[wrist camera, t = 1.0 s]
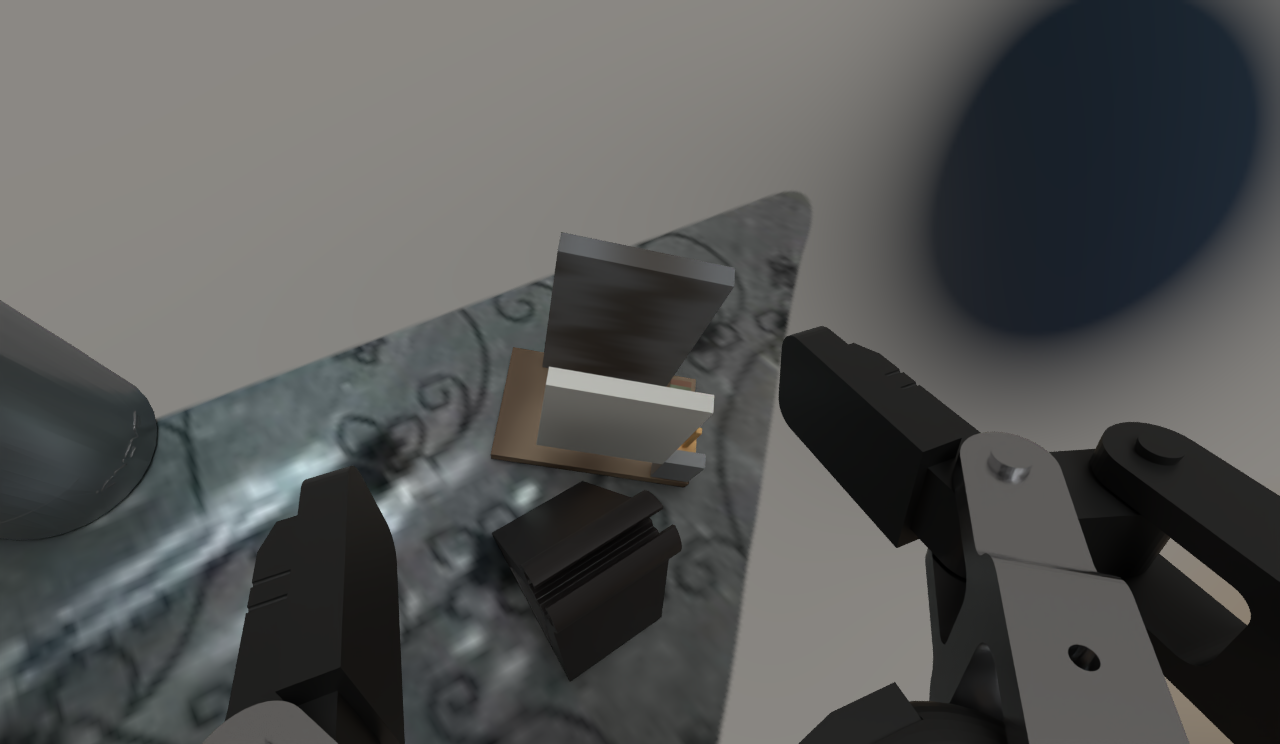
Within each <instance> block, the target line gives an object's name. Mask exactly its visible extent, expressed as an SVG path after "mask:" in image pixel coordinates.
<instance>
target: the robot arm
mask: <svg viewBox="0 0 1280 744" xmlns="http://www.w3.org/2000/svg"><path fill="white" fill-rule="evenodd" d="M779 405H780V409H781V412H782V415H783V417H784V419H785V421H786V423H787V424H788V426H789V427H790V428H791V430H792V431H793V432H794V433H795V434H796V435H797V436H798V437H799V438H800V440H801V441H802V442H803V443H804V444H805V445H806V447H807V448H809V450H810V451H811V452H812V453H813V454H814V456H815V457H816V458H817V459H818V460H819V461H820V462H821V463H822V465H823V466H824V467H825V468H826V469H827V470H828V471H829V472H830V474H831V475H832V476H833V477H834V478H835V479H836V480H837V482H838V483H839V484H840V485H841V486H842V487H843V488H844V489H845V491H846V492H847V493H848V494H849V495H850V496H851V497H852V498H853V500H854V501H855V502H856V503H857V504H858V505H859V506H860V507H861V509H862V510H863V511H864V512H865V513H866V514H867V515H868V516H869V518H870V519H871V520H872V521H873V522H874V523H875V524H876V526H877V527H878V528H879V529H880V530H881V531H882V532H883V533H884V535H886V537H887V538H888V539H889V540H890V541H891V542H892V544H894V546H895V547H896V548H898V547H901V546H903V545H905V544H908V543H910V542H912V541H915V540H917V539H920V540H921V541H922V542H923V543H924V544H925V545H926V546H927V547H928V549H927V553H926V557H925V563H926V575H927V585H928V586H927V587H928V597H929V610H930V621H931V631H932V644H933V670H932V677H931V683H930V698H929V701H911V702H909V701H908V700H907V698H906V697H905V696H904V694H903V693H902V692H901V690H900V689H899V687H898V686H897V684H896V683H895V682H894V683H892V684H890V685H888V686H886V687H884V688H882V689H880V690H877V691H875V692H873V693H871V694H869V695H867V696H865V697H863V698H861V699H858V700H856V701H854V702H852V703H850V704H848V705H846V706H844V707H842V708H840V709H837V710H835V711H833V712H831V713H830V714H829V715H828V716H827V717H826V718H825V719H824V720H823V721H822V722H821V723H820V724H818V725H817V727H816V728H814V729H813V730H812V731H811V732H810V733H809V734H808V735H807V736H806V737H805V738H804V739H803V740H802V741H801V742H800V743H799V744H1189V741H1188V738H1187V736H1186V733H1185V730H1184V728H1183V725H1182V723H1181V720H1180V717H1179V715H1178V712H1177V709H1176V707H1175V704H1174V701H1173V699H1172V697H1171V694H1170V691H1169V688H1168V687H1167V683H1166V681H1165V678H1164V676H1165V677H1166V678H1167V679H1168V680H1169V681H1171V683H1172V684H1173V685H1174V686H1176V688H1177V689H1178V690H1179V691H1180V692H1181V693H1183V695H1184V696H1185V697H1186V698H1188V699H1189V700H1190V701H1191V702H1192V703H1193V704H1194V705H1195V706H1196V707H1197V708H1198V709H1199V710H1200V711H1201V712H1202V713H1203V714H1204V715H1205V716H1206V717H1207V718H1208V719H1209V720H1210V721H1211V722H1212V723H1213V724H1214V725H1215V726H1216V727H1218V729H1219V730H1220V731H1221V732H1222V733H1223V734H1224V735H1225V736H1226V737H1227V738H1229V739H1230V740H1231V741H1232V742H1233V743H1234V744H1280V496H1279V495H1277V494H1276V493H1274V492H1272V491H1271V490H1269V489H1268V488H1266V487H1264V486H1263V485H1261V484H1260V483H1258V482H1257V481H1255V480H1254V479H1252V478H1250V477H1249V476H1247V475H1246V474H1244V473H1243V472H1241V471H1239V470H1238V469H1236V468H1235V467H1233V466H1232V465H1230V464H1228V463H1227V462H1225V461H1224V460H1222V459H1221V458H1219V457H1217V456H1216V455H1214V454H1213V453H1211V452H1209V451H1208V450H1206V449H1205V448H1203V447H1202V446H1200V445H1198V444H1197V443H1195V442H1194V441H1192V440H1190V439H1188V438H1187V437H1185V436H1183V435H1181V434H1179V433H1177V432H1175V431H1172V430H1169V429H1167V428H1163V427H1160V426H1156V425H1152V424H1147V423H1140V422H1125V423H1119V424H1115V425H1113V426H1111V427H1109V428H1108V429H1107V430H1105V432H1104V433H1103V435H1102V437H1101V439H1100V441H1099V443H1098V445H1097V447H1096V449H1087V450H1073V451H1058V452H1048V451H1047V450H1045V449H1044V448H1043V447H1041V446H1040V445H1038V444H1036V443H1034V442H1032V441H1030V440H1028V439H1026V438H1023V437H1020V436H1017V435H1013V434H1009V433H1003V432H985V433H980V432H979V431H978V430H976V429H975V428H974V427H973V426H971V425H970V424H969V423H967V422H966V421H965V420H964V419H962V418H961V417H959V415H957V414H956V413H955V412H953V411H952V410H951V409H949V408H948V407H947V406H946V405H944V404H943V403H942V402H941V401H939V400H938V399H937V398H936V397H934V396H933V395H932V394H930V393H929V392H928V391H926V390H925V389H924V388H923V387H921V386H920V385H919V386H917V385H916V382H915V381H914V380H913V379H911V378H910V377H909V376H908V375H906V374H905V373H904V372H903V373H900V371H899V368H897V367H896V366H895V365H893V364H892V363H891V362H890V361H888V360H887V359H886V358H884V357H883V356H882V355H881V354H879V353H877V352H874V351H872V350H869V349H867V348H865V347H862V346H860V345H857V344H855V343H852V344H849V345H848V344H847V343H846V342H845V341H843V340H842V339H841V338H840V337H838V336H837V335H836V334H834V333H833V332H832V331H831V330H830V329H828V328H827V327H824V326H820V327H817V328H813V329H810V330H806V331H803V332H800V333H796V334H793V335H790V336H787V337H786V338H785V339H784V341H783V344H782V354H781V369H780V384H779ZM156 438H157V425H156V420H155V415H154V411H153V409H152V407H151V405H150V404H149V402H148V400H147V398H146V397H145V396H144V395H143V394H142V393H141V392H140V391H139V390H138V388H137V387H135V386H134V385H133V384H131V383H129V382H128V381H126V380H125V379H123V378H121V377H120V376H119V375H117V374H115V373H114V372H112V371H111V370H109V369H108V368H106V367H104V366H103V365H101V364H99V363H98V362H97V361H95V360H94V359H92V358H90V357H89V356H88V355H86V354H85V353H83V352H82V351H80V350H79V349H77V348H75V347H74V346H72V345H71V344H69V343H67V342H66V341H64V340H63V339H61V338H60V337H58V336H56V335H55V334H53V333H51V332H50V331H48V330H47V329H45V328H44V327H42V326H40V325H39V324H37V323H35V322H34V321H32V320H31V319H29V318H28V317H26V316H25V315H23V314H21V313H20V312H18V311H16V310H15V309H13V308H12V307H10V306H9V305H7V304H5V303H4V302H2V301H1V300H0V538H3V539H11V540H32V539H43V538H47V537H52V536H56V535H60V534H64V533H67V532H69V531H72V530H74V529H77V528H79V527H82V526H84V525H87V524H89V523H90V522H92V521H94V520H95V519H97V518H99V517H100V516H102V515H104V514H105V513H107V512H109V511H110V510H111V509H112V508H113V507H115V506H116V505H117V504H118V503H119V502H121V501H122V500H123V499H124V498H125V497H126V496H127V495H128V494H129V493H130V492H131V491H132V489H133V488H134V487H135V486H136V485H137V484H138V482H139V481H140V480H141V478H142V476H143V475H144V473H145V471H146V469H147V468H148V466H149V464H150V462H151V459H152V456H153V453H154V450H155V447H156ZM1170 538H1172V539H1173V540H1174V541H1175V542H1177V543H1178V544H1179V545H1181V546H1182V547H1183V548H1184V549H1186V550H1187V551H1188V552H1190V553H1191V554H1192V555H1193V556H1195V557H1196V558H1197V559H1198V560H1200V561H1201V562H1202V563H1203V564H1205V565H1206V566H1207V567H1209V568H1210V569H1211V570H1212V571H1214V572H1215V573H1216V574H1218V575H1219V576H1220V577H1222V578H1223V579H1224V580H1225V581H1227V582H1228V583H1229V584H1230V585H1232V586H1233V587H1234V588H1235V589H1236V590H1238V592H1239V593H1240V594H1241V595H1242V596H1243V598H1244V599H1245V600H1246V602H1247V604H1248V606H1249V609H1250V612H1251V620H1250V623H1249V624H1248V625H1246V624H1244V623H1243V622H1242V621H1241V620H1240V619H1238V618H1237V617H1236V616H1235V615H1234V614H1232V613H1231V612H1230V611H1229V610H1227V609H1226V608H1225V607H1224V606H1223V605H1221V604H1220V603H1219V602H1218V601H1216V600H1215V599H1214V598H1213V597H1212V596H1210V595H1209V594H1208V593H1207V592H1205V591H1204V590H1203V589H1202V588H1201V587H1199V586H1198V585H1197V584H1195V583H1194V582H1193V581H1192V580H1191V579H1190V578H1188V577H1187V576H1186V575H1185V574H1183V573H1182V572H1181V571H1180V570H1178V569H1177V568H1176V567H1175V566H1173V565H1172V564H1171V563H1170V562H1169V561H1168V560H1166V559H1165V558H1164V557H1163V556H1161V555H1160V554H1159V553H1160V551H1161V550H1162V549H1163V547H1164V546H1165V544H1166V543H1167V542H1168V540H1169V539H1170ZM252 583H253V587H252V588H251V589H250V595H249V600H248V605H247V608H248V611H249V612H248V613H246V616H245V621H244V627H243V632H242V637H241V643H240V648H239V653H238V659H237V664H236V669H235V675H234V680H233V685H232V691H231V696H230V701H229V707H228V711H227V715H226V719H225V722H224V723H223V724H222V725H220V726H219V727H218V728H217V729H216V730H215V731H213V732H212V734H211V735H210V736H209V737H208V738H207V739H206V740H205V741H204V742H203V743H202V744H405V739H404V716H403V694H402V671H401V648H400V626H399V603H398V580H397V559H396V551H395V546H394V542H393V538H392V535H391V532H390V529H389V527H388V525H387V523H386V521H385V519H384V517H383V515H382V513H381V511H380V509H379V508H378V506H377V504H376V502H375V500H374V498H373V496H372V495H371V493H370V491H369V489H368V487H367V485H366V483H365V482H364V480H363V478H362V476H361V474H360V472H359V471H358V470H357V468H356V467H354V466H349V467H346V468H343V469H339V470H336V471H333V472H329V473H326V474H323V475H319V476H316V477H313V478H309V479H306V480H304V481H303V483H302V486H301V493H300V501H299V508H298V515H297V516H294V517H291V518H287V519H284V520H281V521H278V522H276V524H275V525H274V527H273V528H272V530H271V532H270V533H269V535H268V536H267V538H266V539H265V541H264V543H263V544H262V546H261V547H260V549H259V550H258V552H257V557H256V563H255V568H254V573H253V579H252Z"/></svg>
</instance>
